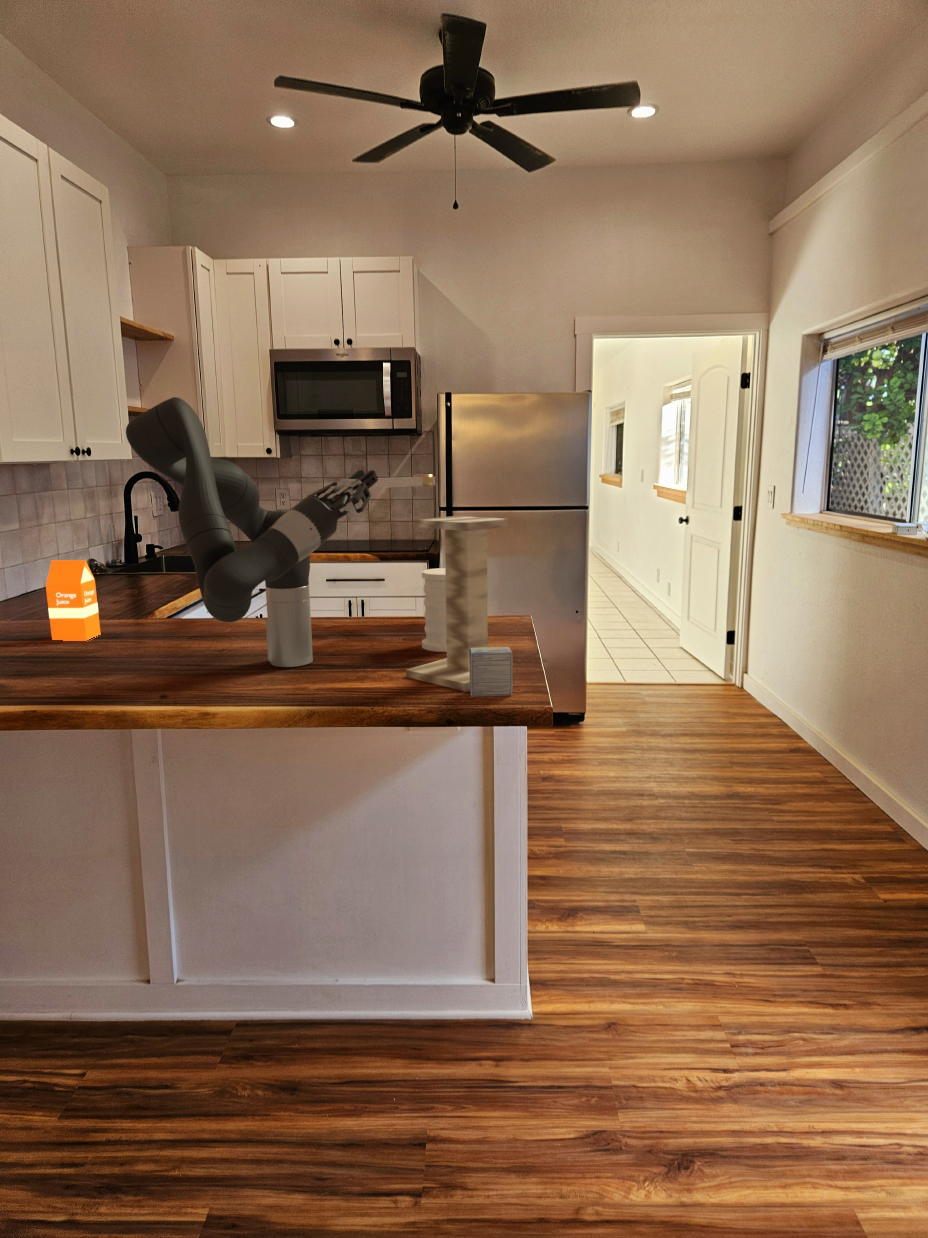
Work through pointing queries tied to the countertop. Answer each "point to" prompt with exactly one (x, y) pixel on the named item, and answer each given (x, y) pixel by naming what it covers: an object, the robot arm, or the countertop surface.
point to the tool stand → (461, 597)
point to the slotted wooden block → (396, 481)
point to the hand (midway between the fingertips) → (368, 474)
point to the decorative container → (435, 610)
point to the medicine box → (490, 671)
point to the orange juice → (72, 601)
